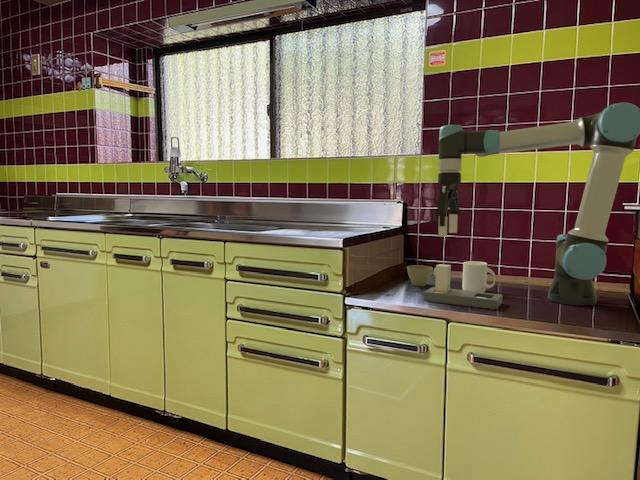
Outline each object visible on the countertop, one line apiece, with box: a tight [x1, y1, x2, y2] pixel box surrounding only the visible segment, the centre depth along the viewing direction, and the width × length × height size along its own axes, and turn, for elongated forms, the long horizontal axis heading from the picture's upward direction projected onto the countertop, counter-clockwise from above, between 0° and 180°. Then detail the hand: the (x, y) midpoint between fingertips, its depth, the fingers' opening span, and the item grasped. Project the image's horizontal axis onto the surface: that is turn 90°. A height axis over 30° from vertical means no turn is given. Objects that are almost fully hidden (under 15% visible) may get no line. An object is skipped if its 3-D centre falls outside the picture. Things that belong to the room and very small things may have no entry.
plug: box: [433, 263, 452, 293], centre depth 169 cm, size 5×4×12 cm
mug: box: [461, 260, 497, 293], centre depth 182 cm, size 9×12×11 cm
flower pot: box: [406, 265, 434, 287], centre depth 194 cm, size 10×10×7 cm
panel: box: [423, 286, 504, 310], centre depth 166 cm, size 24×10×3 cm, turn 60°
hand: (447, 234), depth 167 cm, fingers open, 13 cm apart
